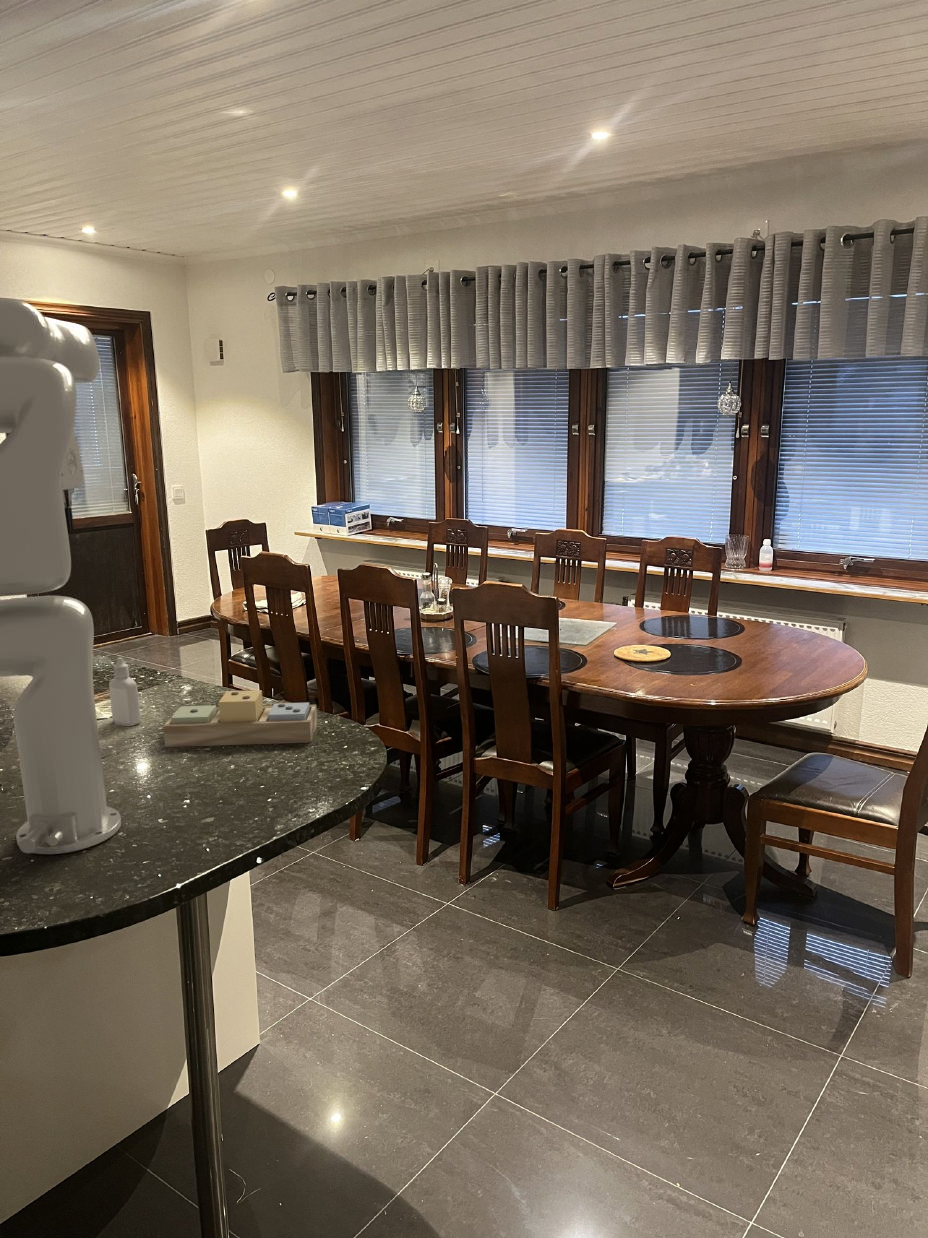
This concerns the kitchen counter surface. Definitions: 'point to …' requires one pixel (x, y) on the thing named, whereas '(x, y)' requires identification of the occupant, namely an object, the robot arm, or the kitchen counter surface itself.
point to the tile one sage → (194, 714)
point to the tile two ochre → (241, 706)
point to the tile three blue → (289, 711)
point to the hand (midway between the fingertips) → (62, 532)
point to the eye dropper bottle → (124, 696)
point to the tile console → (241, 731)
